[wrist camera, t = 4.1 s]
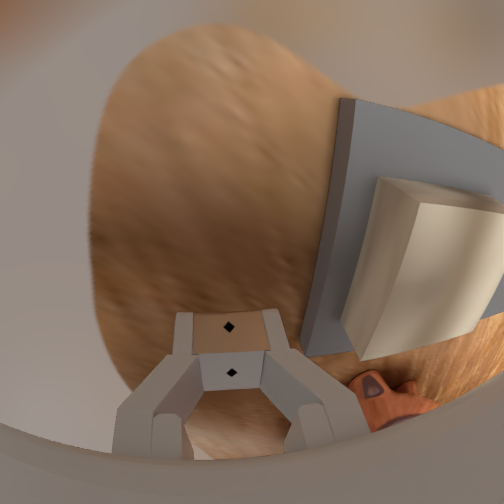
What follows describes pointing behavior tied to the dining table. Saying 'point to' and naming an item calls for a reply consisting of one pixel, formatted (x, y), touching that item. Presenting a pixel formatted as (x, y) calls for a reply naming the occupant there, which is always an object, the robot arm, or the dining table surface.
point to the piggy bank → (388, 400)
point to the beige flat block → (423, 267)
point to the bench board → (362, 192)
